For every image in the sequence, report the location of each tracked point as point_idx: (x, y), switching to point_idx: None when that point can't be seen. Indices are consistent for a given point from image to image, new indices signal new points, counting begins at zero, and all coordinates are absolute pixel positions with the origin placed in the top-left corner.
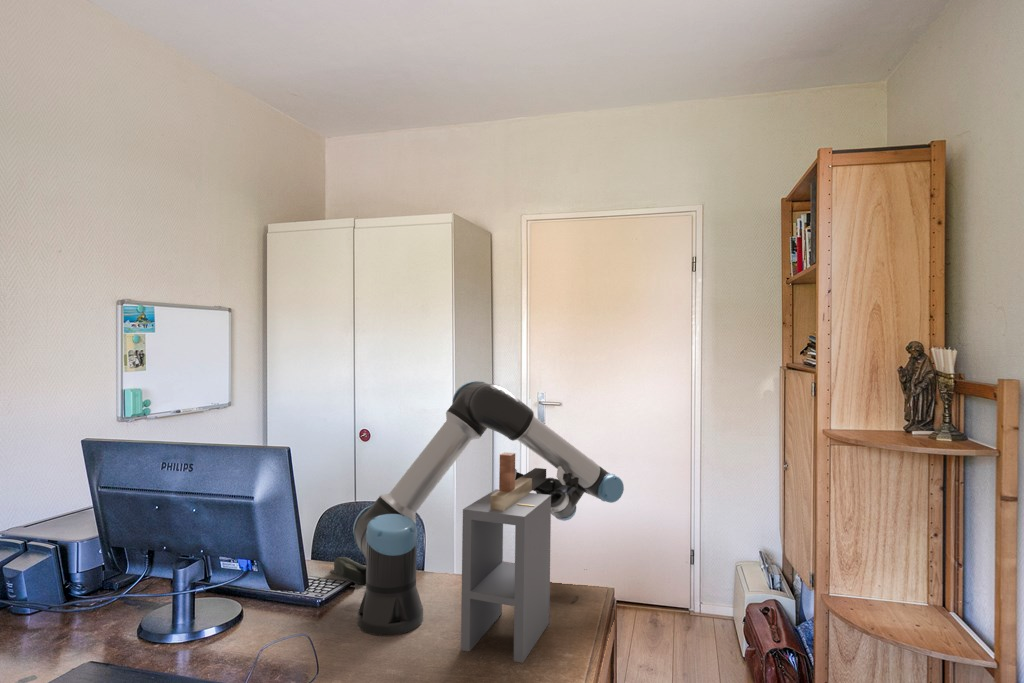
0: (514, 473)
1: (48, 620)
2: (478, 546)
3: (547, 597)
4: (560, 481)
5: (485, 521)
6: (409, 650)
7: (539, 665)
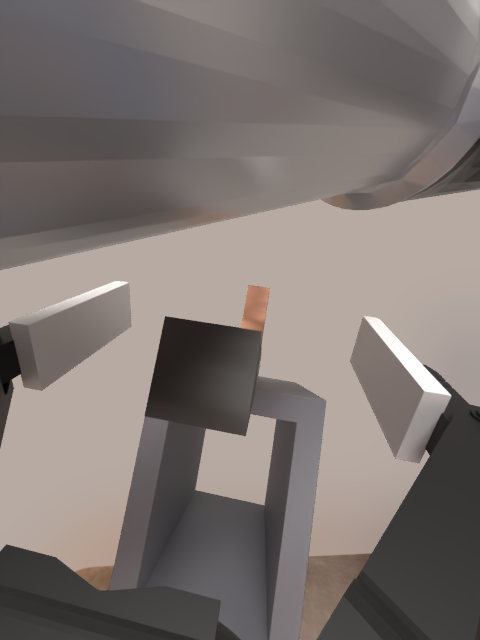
0: (242, 321)
1: None
2: (274, 452)
3: None
4: (87, 354)
5: (281, 424)
6: (334, 604)
7: None
